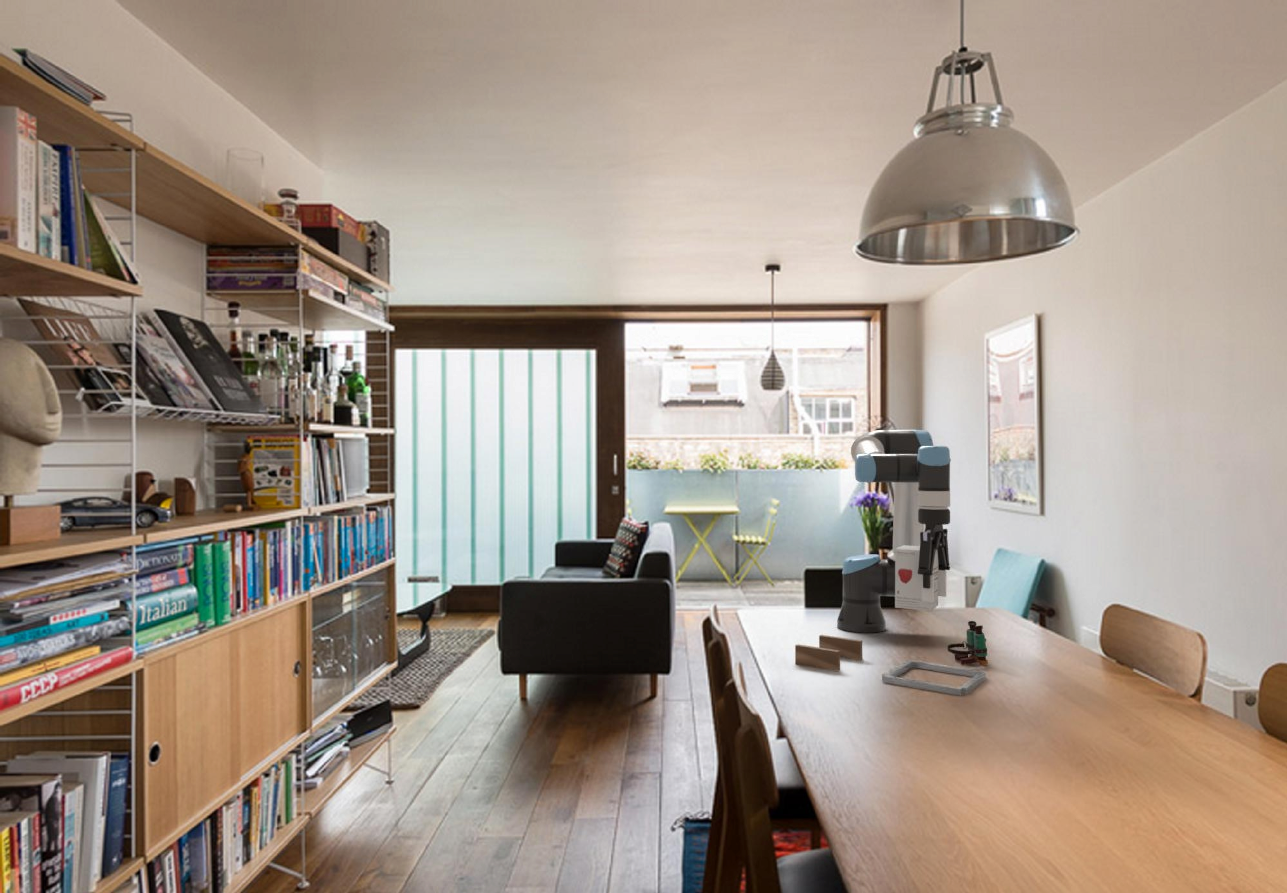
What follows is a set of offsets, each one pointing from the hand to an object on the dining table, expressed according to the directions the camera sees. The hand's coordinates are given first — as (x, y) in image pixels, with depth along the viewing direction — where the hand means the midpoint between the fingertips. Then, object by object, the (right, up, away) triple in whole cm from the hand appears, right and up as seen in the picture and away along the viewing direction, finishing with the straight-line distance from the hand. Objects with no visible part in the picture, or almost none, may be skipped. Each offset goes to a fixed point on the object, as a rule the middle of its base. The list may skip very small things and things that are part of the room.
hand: (934, 598), depth 206 cm
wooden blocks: (-22, -20, +18) cm, 35 cm away
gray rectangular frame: (0, -20, 0) cm, 20 cm away
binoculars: (+15, -21, +17) cm, 31 cm away
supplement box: (-4, -3, +2) cm, 5 cm away
